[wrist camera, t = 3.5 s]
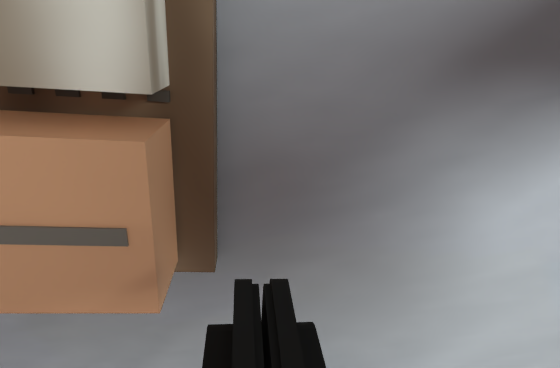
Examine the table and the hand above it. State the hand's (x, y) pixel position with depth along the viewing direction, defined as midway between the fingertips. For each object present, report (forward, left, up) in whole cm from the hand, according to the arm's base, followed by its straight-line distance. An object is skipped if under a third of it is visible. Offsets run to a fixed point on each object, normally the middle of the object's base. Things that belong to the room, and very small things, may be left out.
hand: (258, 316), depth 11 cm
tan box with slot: (+9, 0, -8) cm, 12 cm away
